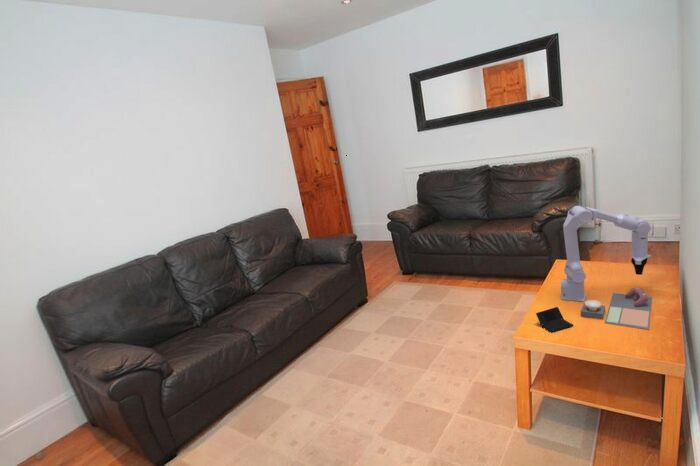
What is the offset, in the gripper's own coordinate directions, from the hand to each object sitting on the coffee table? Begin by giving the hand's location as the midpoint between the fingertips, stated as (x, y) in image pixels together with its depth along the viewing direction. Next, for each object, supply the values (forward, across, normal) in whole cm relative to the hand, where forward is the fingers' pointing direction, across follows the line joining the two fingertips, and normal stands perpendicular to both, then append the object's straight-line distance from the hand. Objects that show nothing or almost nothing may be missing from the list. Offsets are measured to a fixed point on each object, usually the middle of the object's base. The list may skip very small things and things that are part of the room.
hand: (639, 273), depth 174 cm
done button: (+8, -27, +15) cm, 32 cm away
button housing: (+9, -27, +14) cm, 32 cm away
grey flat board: (+9, -19, +2) cm, 21 cm away
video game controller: (+9, -10, 0) cm, 14 cm away
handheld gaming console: (+10, -42, +26) cm, 51 cm away
